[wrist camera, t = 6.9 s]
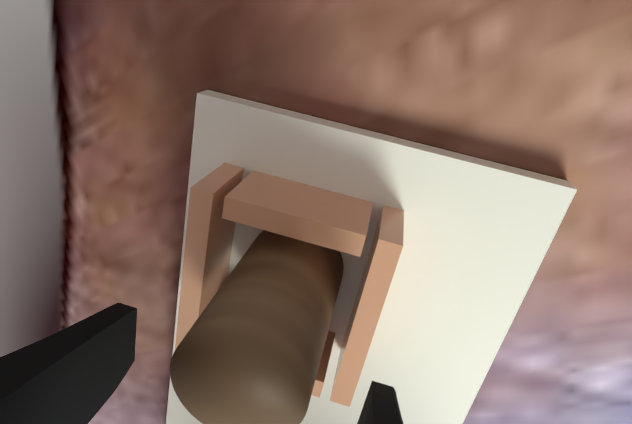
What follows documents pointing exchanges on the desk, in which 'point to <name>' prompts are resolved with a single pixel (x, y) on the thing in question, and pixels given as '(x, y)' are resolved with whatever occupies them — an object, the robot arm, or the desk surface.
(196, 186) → the square wooden frame
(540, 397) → the desk surface
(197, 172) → the off-white board
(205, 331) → the walnut peg
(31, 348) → the robot arm
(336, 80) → the desk surface
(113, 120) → the desk surface
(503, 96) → the desk surface
